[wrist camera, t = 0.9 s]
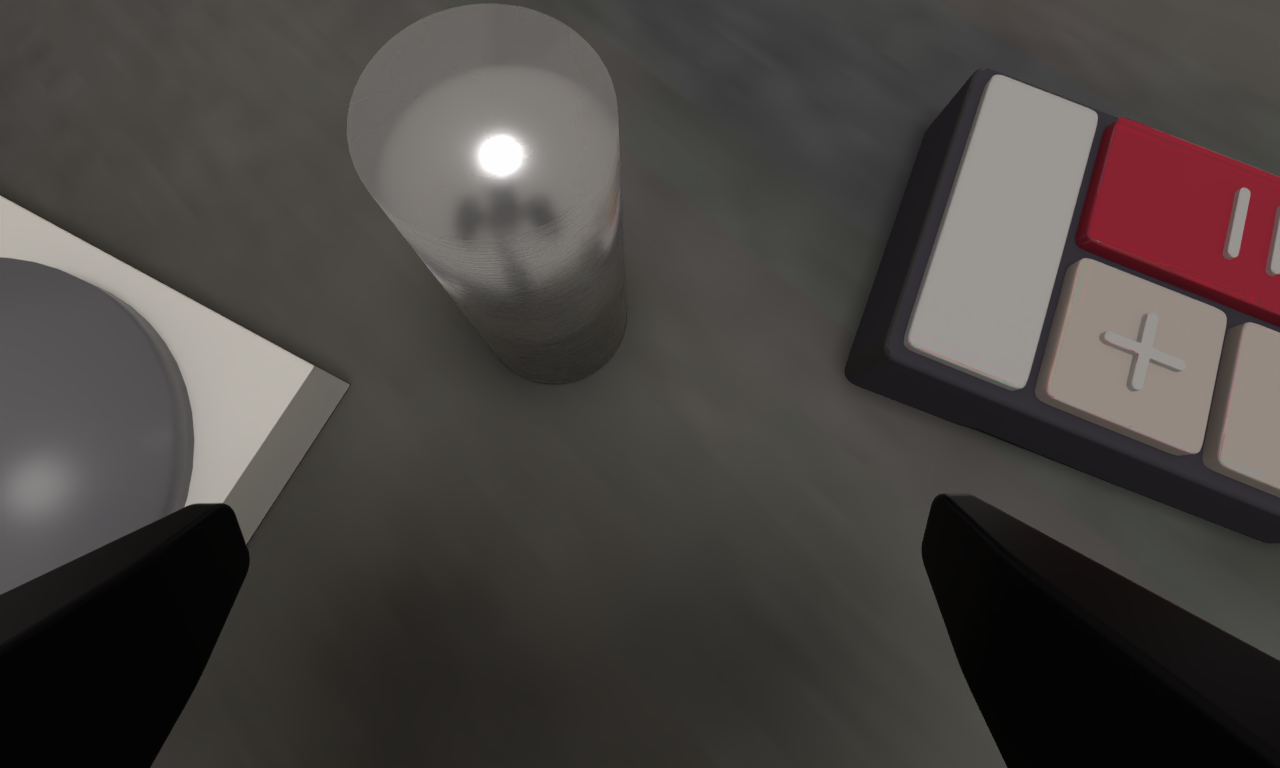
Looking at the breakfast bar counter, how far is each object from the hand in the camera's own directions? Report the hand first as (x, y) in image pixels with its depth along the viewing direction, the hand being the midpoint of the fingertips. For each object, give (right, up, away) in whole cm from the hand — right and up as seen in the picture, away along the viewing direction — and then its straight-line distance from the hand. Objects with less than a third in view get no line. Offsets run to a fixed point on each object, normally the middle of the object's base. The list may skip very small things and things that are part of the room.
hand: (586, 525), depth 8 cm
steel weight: (-2, +4, +14) cm, 15 cm away
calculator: (+17, +4, +15) cm, 23 cm away
